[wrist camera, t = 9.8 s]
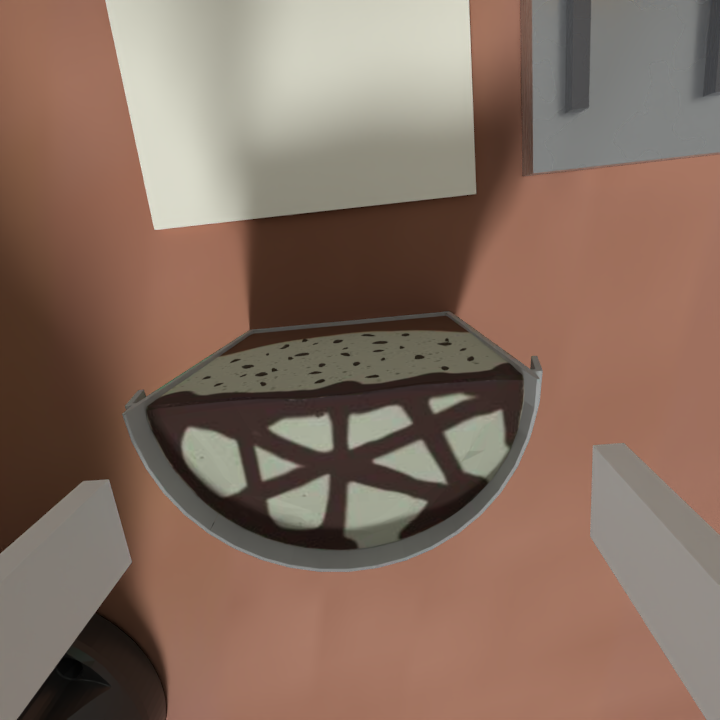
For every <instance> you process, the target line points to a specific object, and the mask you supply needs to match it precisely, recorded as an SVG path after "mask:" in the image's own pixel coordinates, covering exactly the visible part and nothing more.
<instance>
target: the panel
mask: <svg viewBox="0 0 720 720" xmlns="http://www.w3.org/2000/svg"><path fill="white" fill-rule="evenodd" d="M520 19H521V96H522V173H523V176H531V175H539V174H548V173H557V172H566V171H575V170H584V169H592V168H601V167H610V166H619V165H628V164H637V163H645V162H654V161H663V160H672V159H681V158H690V157H698V156H707V155H716V154H720V0H520Z"/></svg>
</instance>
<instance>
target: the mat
mask: <svg viewBox="0 0 720 720" xmlns="http://www.w3.org/2000/svg"><path fill="white" fill-rule="evenodd" d="M105 1H106V6H107V11H108V15H109V20H110V25H111V29H112V34H113V39H114V43H115V48H116V53H117V57H118V62H119V67H120V71H121V76H122V81H123V85H124V90H125V95H126V99H127V104H128V109H129V113H130V118H131V123H132V127H133V132H134V137H135V141H136V146H137V151H138V155H139V160H140V165H141V169H142V174H143V179H144V183H145V188H146V193H147V197H148V202H149V207H150V211H151V216H152V221H153V225H154V230H159V229H168V228H177V227H186V226H195V225H204V224H213V223H222V222H231V221H240V220H249V219H258V218H267V217H275V216H284V215H293V214H302V213H311V212H320V211H329V210H338V209H347V208H356V207H365V206H374V205H383V204H392V203H401V202H410V201H419V200H428V199H437V198H446V197H455V196H464V195H473V194H476V172H475V146H474V120H473V93H472V67H471V40H470V14H469V0H105Z"/></svg>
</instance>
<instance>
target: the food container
mask: <svg viewBox="0 0 720 720" xmlns="http://www.w3.org/2000/svg"><path fill="white" fill-rule="evenodd" d="M541 382H542V368H541V365H540V363H539V360H538V357H537V356H531V368H530V369H529V368H528V367H527V366H525V365H524V364H522V363H521V362H520V361H518V360H517V359H515V358H514V357H513V356H511V355H510V354H509V353H507V352H506V351H504V350H503V349H502V348H500V347H499V346H498V345H496V344H495V343H493V342H492V341H491V340H489V339H488V338H486V337H485V336H484V335H482V334H481V333H480V332H478V331H477V330H475V329H474V328H473V327H471V326H470V325H468V324H467V323H466V322H464V321H463V320H462V319H460V318H459V317H457V316H456V315H455V314H453V313H452V312H450V311H447V312H436V313H425V314H415V315H404V316H393V317H383V318H372V319H361V320H351V321H340V322H329V323H318V324H308V325H297V326H286V327H276V328H265V329H254V330H249V331H247V332H246V333H244V334H243V335H241V336H239V337H238V338H236V339H235V340H233V341H232V342H230V343H229V344H227V345H226V346H224V347H222V348H221V349H219V350H218V351H216V352H215V353H213V354H212V355H210V356H209V357H207V358H205V359H204V360H202V361H201V362H199V363H198V364H196V365H195V366H193V367H192V368H190V369H188V370H187V371H185V372H184V373H182V374H181V375H179V376H178V377H176V378H174V379H173V380H171V381H170V382H168V383H167V384H165V385H164V386H162V387H161V388H159V389H157V390H156V391H154V392H153V393H151V394H150V395H148V396H147V397H146V395H145V392H144V390H138V391H137V392H136V394H135V395H134V396H133V397H132V398H131V399H130V401H129V402H128V403H127V404H126V405H125V408H126V411H125V412H124V413H123V414H122V415H123V418H124V421H125V424H126V427H127V429H128V432H129V435H130V438H131V441H132V443H133V445H134V447H135V449H136V451H137V453H138V454H139V456H140V458H141V460H142V462H143V464H144V466H145V468H146V469H147V471H148V472H149V474H150V475H151V476H152V478H153V479H154V480H155V482H156V483H157V485H158V486H159V487H160V489H161V490H162V492H163V493H164V494H165V495H166V496H167V497H168V498H169V499H170V500H171V501H172V502H173V503H174V504H175V505H176V506H177V507H178V508H179V509H180V511H181V512H182V513H183V514H184V515H186V516H187V517H188V518H189V519H191V520H192V521H193V522H195V523H196V524H197V525H198V526H200V527H201V528H202V529H203V530H205V531H206V532H207V533H209V534H210V535H212V536H214V537H216V538H217V539H219V540H221V541H222V542H224V543H226V544H227V545H229V546H231V547H233V548H235V549H237V550H239V551H242V552H244V553H246V554H249V555H251V556H253V557H256V558H258V559H261V560H264V561H268V562H271V563H275V564H279V565H282V566H286V567H290V568H297V569H304V570H311V571H318V572H350V571H358V570H365V569H373V568H379V567H383V566H387V565H390V564H394V563H398V562H401V561H405V560H408V559H410V558H412V557H415V556H417V555H420V554H422V553H424V552H427V551H429V550H431V549H433V548H435V547H437V546H438V545H440V544H442V543H443V542H445V541H447V540H448V539H450V538H452V537H453V536H455V535H457V534H458V533H459V532H461V531H462V530H463V529H464V528H466V527H467V526H468V525H469V524H470V523H472V522H473V521H474V520H475V519H476V518H478V517H479V516H480V515H481V514H482V513H483V512H484V511H485V510H486V509H487V507H488V506H489V505H490V504H491V503H492V502H493V501H494V500H495V499H496V497H497V496H498V495H499V494H500V493H501V492H502V490H503V489H504V487H505V485H506V484H507V482H508V481H509V479H510V478H511V476H512V475H513V473H514V471H515V470H516V468H517V467H518V465H519V462H520V460H521V458H522V455H523V453H524V451H525V449H526V446H527V444H528V442H529V439H530V436H531V433H532V429H533V426H534V422H535V418H536V414H537V410H538V406H539V402H540V393H541Z"/></svg>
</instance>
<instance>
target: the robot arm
mask: <svg viewBox="0 0 720 720" xmlns="http://www.w3.org/2000/svg"><path fill="white" fill-rule="evenodd" d="M590 537H591V538H592V540H593V542H594V543H595V545H596V546H597V548H598V549H599V551H600V553H601V554H602V556H603V557H604V559H605V560H606V562H607V564H608V565H609V567H610V568H611V570H612V572H613V573H614V575H615V576H616V578H617V579H618V581H619V583H620V584H621V586H622V587H623V589H624V590H625V592H626V594H627V595H628V597H629V598H630V600H631V601H632V603H633V605H634V606H635V608H636V609H637V611H638V613H639V614H640V616H641V617H642V619H643V620H644V622H645V624H646V625H647V627H648V628H649V630H650V631H651V633H652V635H653V636H654V638H655V639H656V641H657V642H658V644H659V646H660V647H661V649H662V650H663V652H664V654H665V655H666V657H667V658H668V660H669V661H670V663H671V665H672V666H673V668H674V669H675V671H676V672H677V674H678V676H679V677H680V679H681V680H682V682H683V683H684V685H685V687H686V688H687V690H688V691H689V693H690V695H691V696H692V698H693V699H694V701H695V702H696V704H697V706H698V707H699V709H700V710H701V712H702V713H703V715H704V717H705V718H706V720H720V535H719V534H718V533H717V532H716V531H715V530H714V529H713V528H712V527H711V526H709V525H708V524H707V523H706V522H705V521H704V520H703V519H702V518H701V517H700V516H699V515H698V514H697V513H696V512H695V511H694V510H693V509H692V508H691V507H690V506H689V505H688V504H687V503H686V502H685V501H683V500H682V499H681V498H680V497H679V496H678V495H677V494H676V493H675V492H674V491H673V490H672V489H671V488H670V487H669V486H668V485H667V484H666V483H665V482H664V481H663V480H662V479H661V478H660V477H658V476H657V475H656V474H655V473H654V472H653V471H652V470H651V469H650V468H649V467H648V466H647V465H646V464H645V463H644V462H643V461H642V460H641V459H640V458H639V457H638V456H637V455H636V454H635V453H634V452H632V451H631V450H630V449H629V448H628V447H627V446H626V445H625V444H624V443H618V444H604V445H593V462H592V496H591V530H590ZM131 563H132V560H131V557H130V553H129V550H128V546H127V542H126V539H125V535H124V532H123V528H122V524H121V521H120V517H119V514H118V510H117V507H116V503H115V499H114V496H113V492H112V489H111V485H110V481H109V479H106V480H92V481H83V482H81V483H80V484H79V485H78V486H77V487H76V488H75V489H73V490H72V491H71V492H70V493H69V494H68V495H67V496H65V497H64V498H63V499H62V500H61V501H60V502H59V503H57V504H56V505H55V506H54V507H53V508H52V509H51V510H49V511H48V512H47V513H46V514H45V515H44V516H43V517H41V518H40V519H39V520H38V521H37V522H36V523H35V524H33V525H32V526H31V527H30V528H29V529H28V530H27V531H26V532H24V533H23V534H22V535H21V536H20V537H19V538H18V539H16V540H15V541H14V542H13V543H12V544H11V545H10V546H8V547H7V548H6V549H5V550H4V551H3V552H2V553H0V720H165V719H166V702H165V696H164V692H163V688H162V685H161V682H160V680H159V677H158V675H157V673H156V671H155V669H154V667H153V666H152V664H151V662H150V661H149V659H148V658H147V657H146V655H145V654H144V653H143V651H142V650H141V649H140V648H139V647H138V646H137V645H136V644H135V642H134V641H133V640H132V639H131V638H129V637H128V636H127V635H126V634H125V633H124V632H123V631H121V630H120V629H119V628H118V627H116V626H115V625H113V624H112V623H111V622H109V621H108V620H106V619H104V618H103V617H101V616H100V615H98V614H96V613H95V612H96V611H97V609H98V608H99V607H100V605H101V604H102V603H103V601H104V600H105V598H106V597H107V596H108V594H109V593H110V592H111V590H112V589H113V588H114V586H115V585H116V583H117V582H118V581H119V579H120V578H121V577H122V575H123V574H124V573H125V571H126V570H127V568H128V567H129V566H130V564H131Z"/></svg>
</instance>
